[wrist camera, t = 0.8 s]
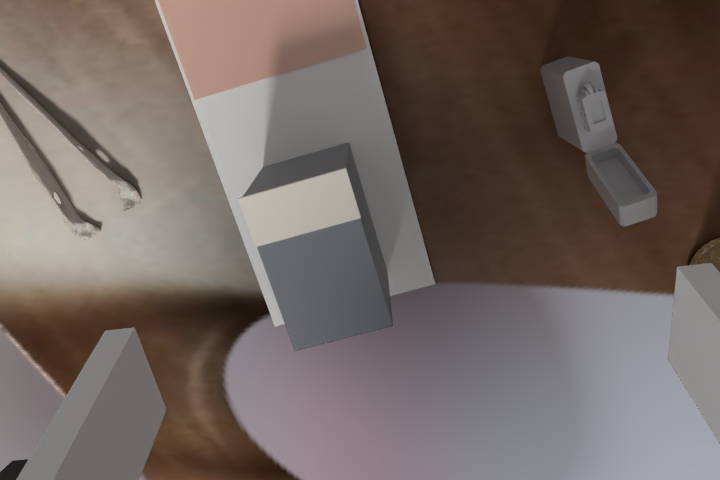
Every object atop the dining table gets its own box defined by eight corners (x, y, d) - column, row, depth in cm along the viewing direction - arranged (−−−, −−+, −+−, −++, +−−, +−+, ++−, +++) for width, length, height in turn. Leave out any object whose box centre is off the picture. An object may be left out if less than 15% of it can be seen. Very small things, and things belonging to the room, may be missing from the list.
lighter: (538, 67, 35) (587, 80, 27) (570, 55, 35) (628, 65, 27) (572, 187, 37) (626, 231, 29) (602, 177, 37) (664, 218, 29)
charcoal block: (388, 272, 38) (393, 326, 31) (305, 294, 39) (293, 352, 32) (349, 140, 36) (345, 168, 29) (261, 165, 36) (237, 199, 29)
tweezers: (151, 196, 38) (138, 204, 36) (91, 240, 39) (75, 249, 37) (-58, -72, 34) (-85, -79, 32) (-118, -17, 35) (-148, -21, 33)
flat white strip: (434, 281, 39) (435, 285, 38) (275, 323, 40) (274, 327, 39) (319, -139, 32) (318, -142, 31) (129, -76, 33) (125, -77, 32)
